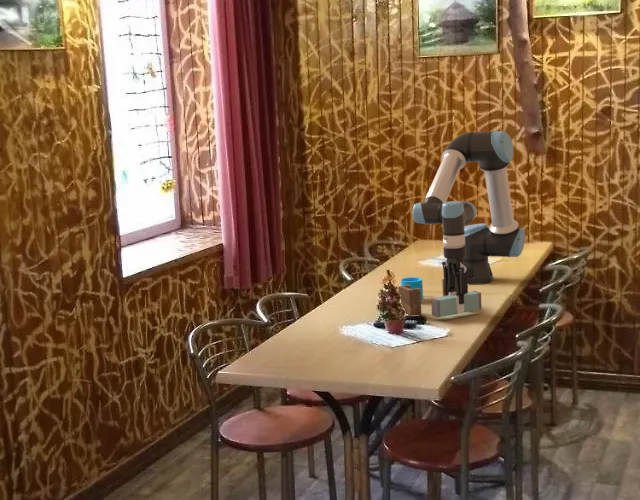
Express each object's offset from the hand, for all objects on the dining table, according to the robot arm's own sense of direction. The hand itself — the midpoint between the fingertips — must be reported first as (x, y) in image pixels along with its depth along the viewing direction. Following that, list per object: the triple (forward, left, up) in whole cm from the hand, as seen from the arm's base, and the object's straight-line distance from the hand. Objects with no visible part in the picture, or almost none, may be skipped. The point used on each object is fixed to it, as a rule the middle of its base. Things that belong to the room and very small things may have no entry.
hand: (456, 311), depth 330 cm
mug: (-2, -33, -2) cm, 33 cm away
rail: (0, 0, 0) cm, 0 cm away
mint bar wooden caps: (+2, -13, -2) cm, 13 cm away
